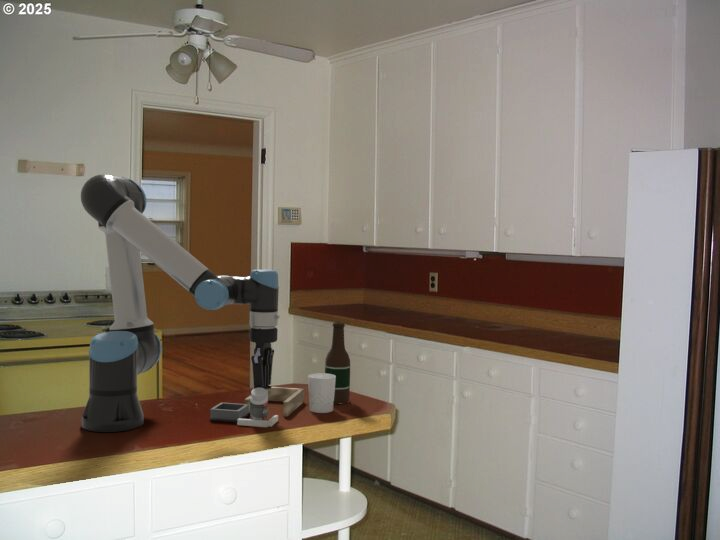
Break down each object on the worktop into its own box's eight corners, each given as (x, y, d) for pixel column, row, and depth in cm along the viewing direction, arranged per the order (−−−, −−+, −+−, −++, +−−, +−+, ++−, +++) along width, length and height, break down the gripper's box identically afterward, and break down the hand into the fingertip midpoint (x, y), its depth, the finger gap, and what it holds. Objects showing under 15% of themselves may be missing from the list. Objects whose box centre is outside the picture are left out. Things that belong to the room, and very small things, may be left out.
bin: (210, 420, 195) (210, 409, 194) (220, 413, 202) (221, 402, 202) (238, 422, 193) (238, 411, 193) (248, 415, 201) (248, 404, 201)
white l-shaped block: (237, 425, 191) (237, 419, 191) (246, 418, 197) (246, 412, 197) (270, 427, 189) (270, 421, 189) (278, 420, 196) (278, 415, 196)
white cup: (340, 409, 210) (341, 375, 209) (324, 415, 203) (325, 379, 203) (318, 405, 214) (318, 372, 214) (301, 410, 208) (302, 376, 207)
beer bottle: (321, 403, 217) (323, 323, 216) (326, 397, 225) (328, 320, 223) (346, 405, 216) (349, 324, 214) (351, 399, 223) (353, 321, 222)
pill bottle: (266, 423, 193) (266, 397, 189) (248, 422, 193) (248, 396, 190) (269, 413, 197) (269, 387, 194) (252, 412, 197) (251, 386, 194)
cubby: (244, 413, 203) (244, 399, 202) (263, 399, 220) (264, 386, 220) (287, 416, 201) (287, 402, 200) (303, 402, 218) (303, 388, 218)
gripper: (269, 330, 190) (267, 420, 191) (283, 324, 202) (282, 408, 204) (242, 329, 191) (240, 418, 192) (257, 323, 204) (256, 406, 205)
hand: (261, 413), depth 198 cm, fingers closed
